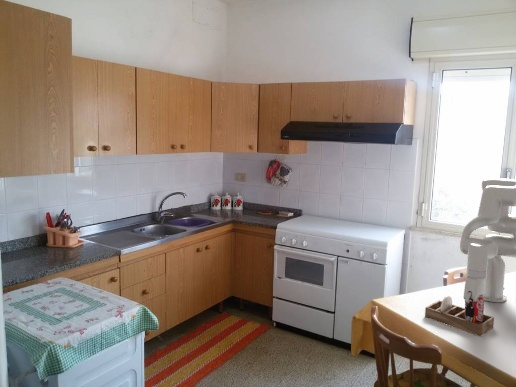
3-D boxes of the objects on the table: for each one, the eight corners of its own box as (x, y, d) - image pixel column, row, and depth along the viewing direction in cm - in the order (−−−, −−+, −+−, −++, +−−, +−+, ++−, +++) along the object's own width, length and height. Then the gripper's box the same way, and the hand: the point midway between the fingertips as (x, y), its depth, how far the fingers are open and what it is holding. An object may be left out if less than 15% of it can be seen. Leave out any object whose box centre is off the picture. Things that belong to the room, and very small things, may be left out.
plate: (449, 312, 194) (451, 293, 193) (451, 313, 194) (452, 294, 192) (439, 318, 189) (441, 298, 187) (441, 319, 188) (442, 299, 187)
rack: (438, 309, 200) (439, 300, 199) (493, 327, 182) (494, 317, 181) (424, 317, 192) (425, 307, 192) (480, 336, 174) (481, 325, 174)
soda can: (472, 325, 178) (474, 297, 176) (460, 318, 185) (462, 291, 183) (486, 323, 180) (488, 295, 178) (474, 316, 186) (475, 289, 185)
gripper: (476, 266, 187) (473, 305, 190) (457, 275, 176) (455, 316, 179) (495, 270, 182) (491, 310, 184) (476, 280, 171) (473, 322, 173)
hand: (473, 313), depth 182 cm, fingers closed on soda can, 7 cm apart
